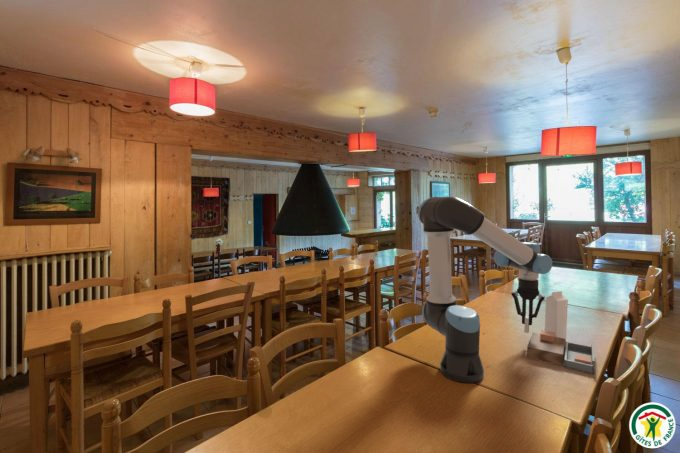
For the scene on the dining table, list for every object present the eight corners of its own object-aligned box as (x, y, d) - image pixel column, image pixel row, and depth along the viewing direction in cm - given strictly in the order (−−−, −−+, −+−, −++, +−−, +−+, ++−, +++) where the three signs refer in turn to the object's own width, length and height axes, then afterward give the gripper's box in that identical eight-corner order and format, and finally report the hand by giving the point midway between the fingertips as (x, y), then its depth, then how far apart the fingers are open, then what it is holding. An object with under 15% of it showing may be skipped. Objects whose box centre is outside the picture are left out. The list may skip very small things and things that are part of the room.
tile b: (540, 339, 141) (540, 333, 141) (541, 335, 146) (541, 330, 145) (554, 342, 139) (554, 336, 138) (555, 338, 143) (555, 332, 142)
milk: (566, 341, 151) (568, 292, 149) (555, 342, 149) (558, 293, 148) (554, 335, 157) (556, 289, 155) (543, 337, 155) (546, 290, 153)
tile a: (591, 362, 124) (590, 368, 125) (590, 357, 128) (590, 363, 129) (574, 358, 127) (574, 364, 128) (575, 353, 131) (574, 359, 132)
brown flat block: (526, 357, 135) (527, 346, 135) (532, 342, 150) (532, 332, 149) (562, 365, 128) (563, 354, 128) (564, 349, 143) (565, 338, 142)
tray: (564, 367, 127) (564, 354, 126) (566, 348, 143) (566, 337, 143) (593, 374, 122) (594, 361, 121) (592, 353, 138) (593, 342, 137)
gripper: (510, 278, 146) (508, 331, 147) (545, 282, 138) (543, 337, 140) (513, 275, 152) (511, 325, 153) (546, 278, 144) (544, 332, 146)
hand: (526, 331), depth 147 cm, fingers closed
